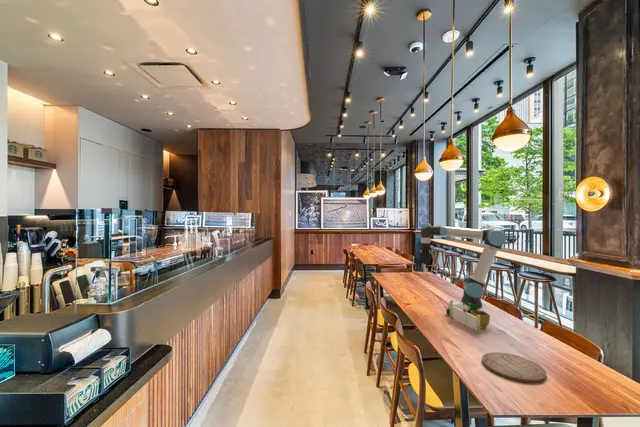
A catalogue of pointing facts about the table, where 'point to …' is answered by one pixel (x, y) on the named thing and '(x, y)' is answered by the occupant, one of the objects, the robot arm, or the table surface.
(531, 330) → the table surface
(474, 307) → the milk carton
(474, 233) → the robot arm
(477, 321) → the fence
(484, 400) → the table surface
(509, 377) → the trivet
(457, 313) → the gate
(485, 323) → the flower pot
